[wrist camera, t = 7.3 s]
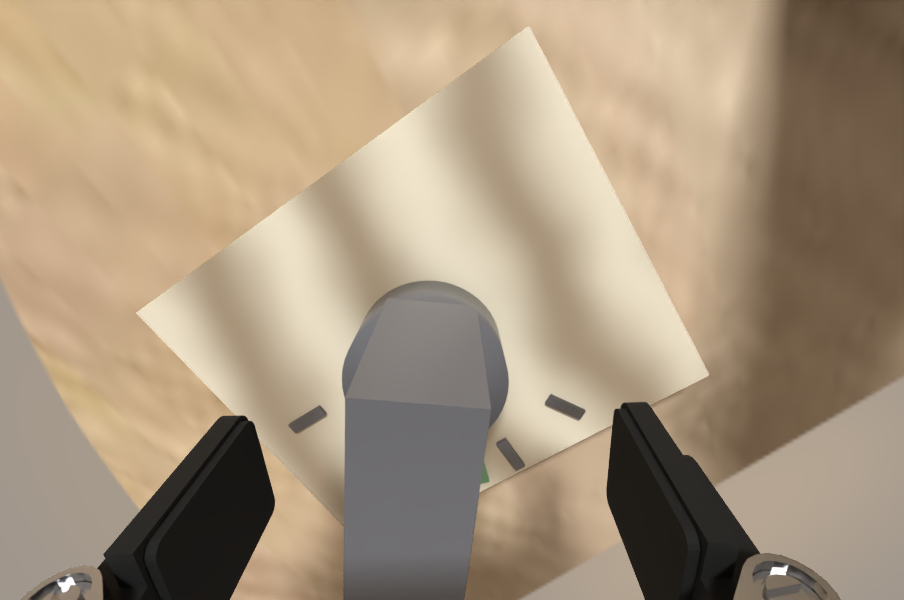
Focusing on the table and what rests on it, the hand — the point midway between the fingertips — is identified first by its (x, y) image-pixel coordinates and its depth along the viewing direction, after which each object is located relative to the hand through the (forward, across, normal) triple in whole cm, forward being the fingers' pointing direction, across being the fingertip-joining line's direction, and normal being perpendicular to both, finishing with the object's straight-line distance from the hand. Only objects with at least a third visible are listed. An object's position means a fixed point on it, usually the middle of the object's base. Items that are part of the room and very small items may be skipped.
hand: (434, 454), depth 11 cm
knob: (+7, +1, +3) cm, 8 cm away
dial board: (+10, +1, +1) cm, 10 cm away
